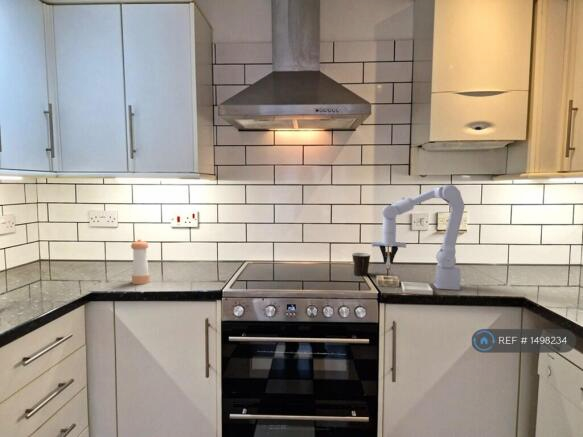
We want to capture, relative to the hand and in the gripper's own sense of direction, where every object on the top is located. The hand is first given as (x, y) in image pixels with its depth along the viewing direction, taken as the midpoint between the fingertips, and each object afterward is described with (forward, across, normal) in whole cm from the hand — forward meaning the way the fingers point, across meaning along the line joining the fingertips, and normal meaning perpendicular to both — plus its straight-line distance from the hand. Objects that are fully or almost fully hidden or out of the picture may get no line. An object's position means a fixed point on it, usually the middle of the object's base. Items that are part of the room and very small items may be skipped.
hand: (388, 263), depth 164 cm
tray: (+9, -11, +8) cm, 17 cm away
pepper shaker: (+9, +108, +20) cm, 110 cm away
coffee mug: (+10, +12, -14) cm, 20 cm away
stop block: (+9, 0, 0) cm, 9 cm away
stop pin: (+3, 0, 0) cm, 3 cm away
